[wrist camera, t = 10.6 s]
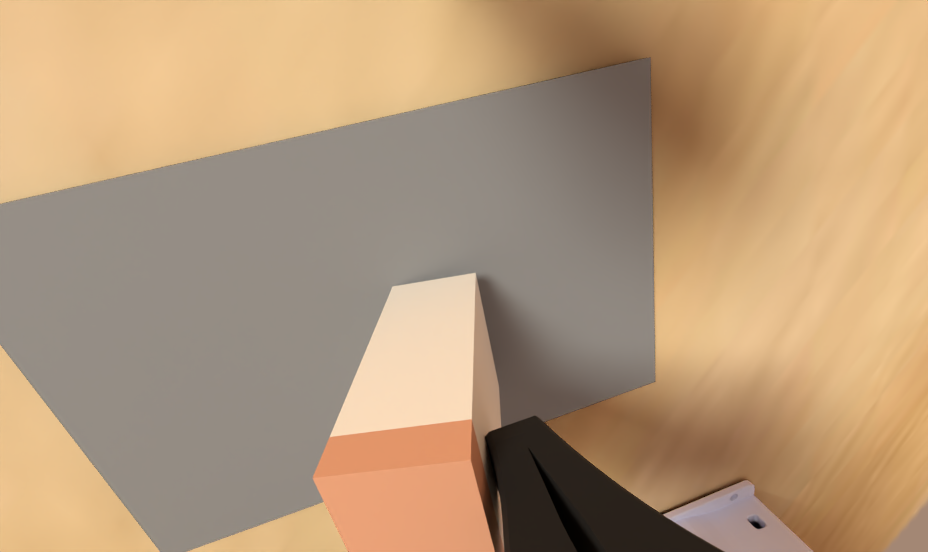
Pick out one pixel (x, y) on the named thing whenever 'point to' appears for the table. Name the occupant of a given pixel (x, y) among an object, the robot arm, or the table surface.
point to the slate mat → (329, 287)
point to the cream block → (419, 429)
